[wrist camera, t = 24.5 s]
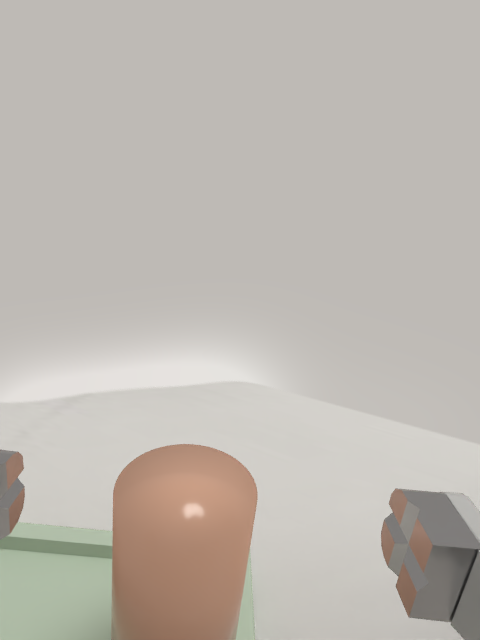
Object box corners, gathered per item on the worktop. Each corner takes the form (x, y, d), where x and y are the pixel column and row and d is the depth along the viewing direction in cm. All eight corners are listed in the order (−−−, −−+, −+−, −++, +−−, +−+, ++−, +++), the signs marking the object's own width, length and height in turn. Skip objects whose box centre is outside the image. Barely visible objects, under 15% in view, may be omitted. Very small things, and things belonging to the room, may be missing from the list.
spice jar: (228, 619, 20) (252, 448, 17) (229, 754, 15) (264, 551, 12) (125, 615, 20) (130, 440, 17) (95, 752, 15) (94, 543, 12)
